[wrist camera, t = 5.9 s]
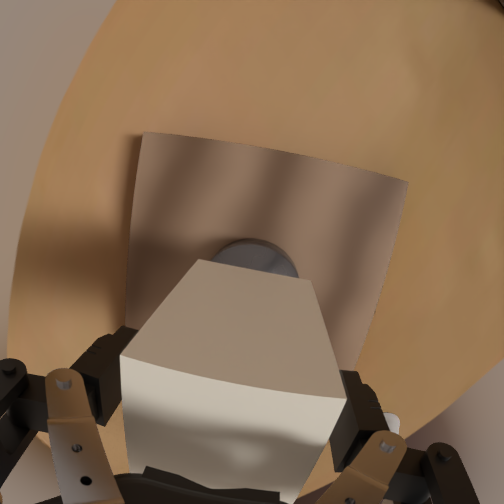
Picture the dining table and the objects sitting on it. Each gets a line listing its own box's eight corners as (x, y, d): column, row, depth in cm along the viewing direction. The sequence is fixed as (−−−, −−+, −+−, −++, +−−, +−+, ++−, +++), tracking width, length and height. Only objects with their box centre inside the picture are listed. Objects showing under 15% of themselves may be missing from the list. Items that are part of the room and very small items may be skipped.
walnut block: (397, 181, 21) (408, 182, 19) (336, 389, 26) (339, 403, 24) (153, 134, 22) (143, 131, 20) (134, 350, 26) (125, 362, 24)
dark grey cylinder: (308, 248, 21) (337, 312, 11) (287, 334, 22) (294, 435, 13) (212, 230, 21) (161, 278, 11) (199, 317, 23) (155, 408, 13)
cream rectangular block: (310, 280, 16) (347, 398, 7) (285, 373, 17) (289, 509, 8) (198, 259, 16) (119, 355, 7) (186, 354, 17) (130, 478, 8)
